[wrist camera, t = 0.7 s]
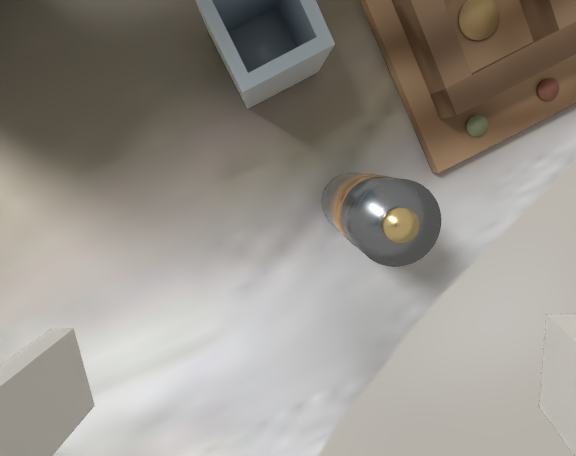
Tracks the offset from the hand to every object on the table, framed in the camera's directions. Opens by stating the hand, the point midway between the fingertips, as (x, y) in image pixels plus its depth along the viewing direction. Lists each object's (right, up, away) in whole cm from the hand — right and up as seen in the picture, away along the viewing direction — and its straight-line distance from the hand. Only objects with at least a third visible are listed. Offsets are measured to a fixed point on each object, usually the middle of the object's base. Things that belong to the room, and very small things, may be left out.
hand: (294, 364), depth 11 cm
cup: (-2, +17, +17) cm, 24 cm away
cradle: (+14, +19, +18) cm, 30 cm away
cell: (+5, +6, +20) cm, 21 cm away
